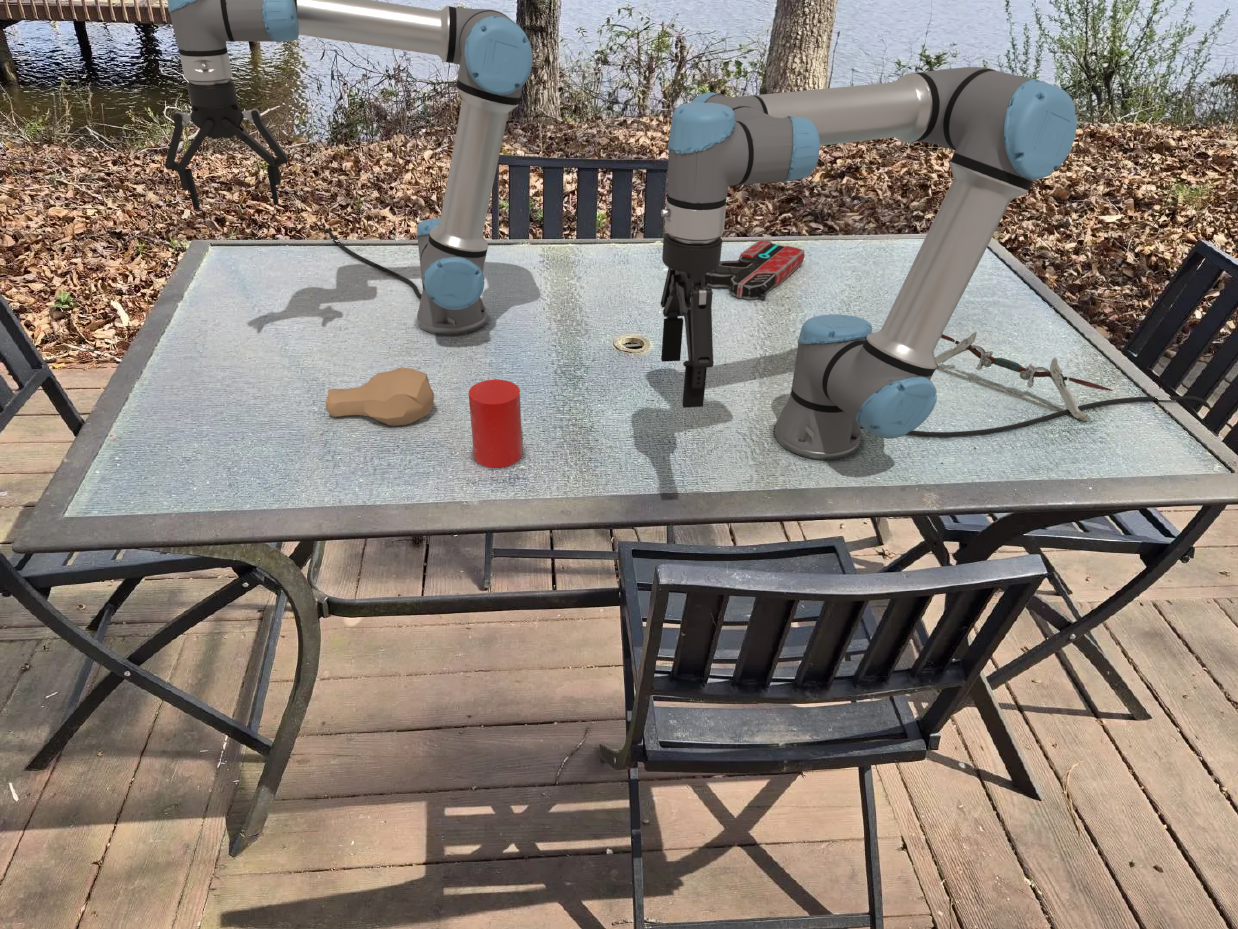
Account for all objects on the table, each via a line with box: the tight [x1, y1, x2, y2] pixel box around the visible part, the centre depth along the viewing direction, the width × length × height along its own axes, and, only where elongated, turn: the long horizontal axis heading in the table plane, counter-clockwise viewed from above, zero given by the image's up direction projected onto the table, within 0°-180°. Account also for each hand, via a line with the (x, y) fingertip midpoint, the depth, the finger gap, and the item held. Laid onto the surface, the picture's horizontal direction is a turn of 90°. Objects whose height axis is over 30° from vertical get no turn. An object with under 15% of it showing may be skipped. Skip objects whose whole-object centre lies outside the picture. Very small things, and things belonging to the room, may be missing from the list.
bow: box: [935, 331, 1114, 422], centre depth 173 cm, size 39×2×10 cm, turn 47°
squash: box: [325, 366, 435, 427], centre depth 160 cm, size 11×20×9 cm, turn 90°
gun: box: [704, 239, 806, 301], centre depth 223 cm, size 4×31×19 cm
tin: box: [468, 379, 523, 469], centre depth 149 cm, size 8×8×12 cm
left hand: (237, 205), depth 160 cm, fingers open, 13 cm apart
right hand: (681, 382), depth 123 cm, fingers open, 13 cm apart
